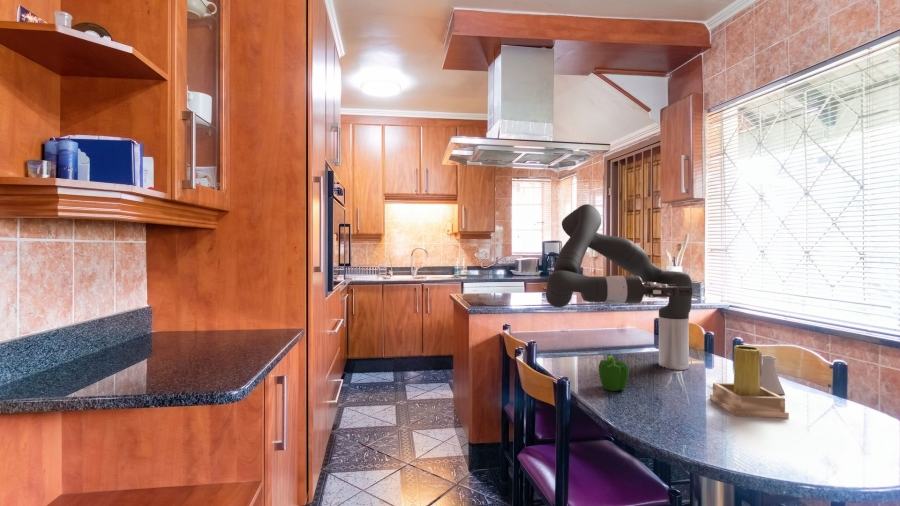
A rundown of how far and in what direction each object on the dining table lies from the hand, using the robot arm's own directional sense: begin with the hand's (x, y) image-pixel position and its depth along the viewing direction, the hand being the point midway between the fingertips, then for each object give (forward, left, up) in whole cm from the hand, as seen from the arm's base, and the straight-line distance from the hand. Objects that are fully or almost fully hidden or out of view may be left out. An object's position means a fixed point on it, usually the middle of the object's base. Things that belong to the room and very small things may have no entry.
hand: (684, 289), depth 111 cm
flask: (-11, +28, -30) cm, 43 cm away
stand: (+3, +14, -30) cm, 33 cm away
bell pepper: (-9, -16, -30) cm, 35 cm away
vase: (+3, +14, -29) cm, 32 cm away
